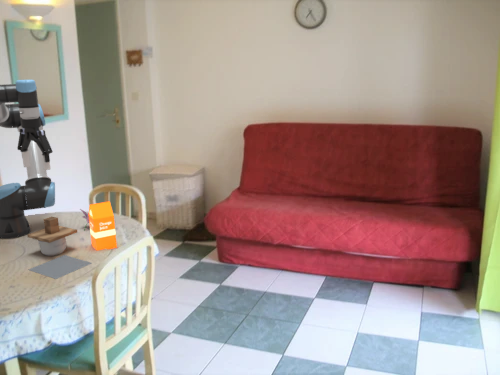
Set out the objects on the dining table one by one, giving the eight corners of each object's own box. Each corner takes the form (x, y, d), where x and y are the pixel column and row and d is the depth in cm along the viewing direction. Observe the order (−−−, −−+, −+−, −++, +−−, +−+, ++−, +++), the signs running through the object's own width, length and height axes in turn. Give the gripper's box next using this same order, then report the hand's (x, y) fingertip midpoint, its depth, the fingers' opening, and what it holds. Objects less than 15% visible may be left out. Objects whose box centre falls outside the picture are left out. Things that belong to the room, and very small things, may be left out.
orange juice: (117, 247, 217) (112, 203, 212) (96, 252, 212) (91, 206, 207) (111, 242, 223) (107, 199, 218) (91, 246, 219) (86, 202, 214)
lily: (101, 234, 237) (106, 214, 239) (76, 228, 232) (82, 208, 234) (96, 234, 248) (101, 215, 250) (72, 229, 243) (77, 209, 245)
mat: (28, 271, 195) (27, 269, 195) (64, 256, 209) (64, 254, 208) (56, 280, 186) (55, 279, 186) (92, 264, 200) (92, 263, 200)
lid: (27, 237, 209) (25, 220, 207) (55, 227, 220) (53, 211, 219) (49, 242, 202) (47, 225, 200) (77, 232, 213) (75, 216, 211)
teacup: (58, 259, 206) (55, 241, 204) (34, 257, 208) (31, 239, 206) (76, 246, 219) (73, 229, 217) (53, 245, 221) (51, 228, 219)
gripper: (4, 117, 211) (11, 167, 216) (41, 120, 198) (48, 173, 203) (20, 115, 217) (26, 163, 222) (57, 118, 204) (63, 169, 209)
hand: (37, 168), depth 213 cm, fingers open, 13 cm apart
